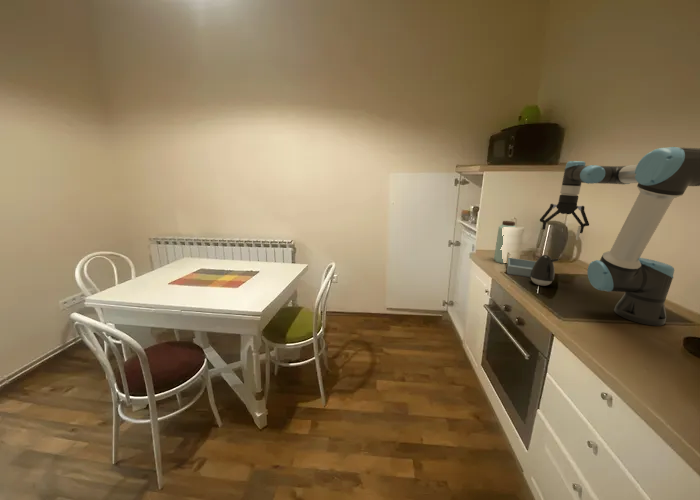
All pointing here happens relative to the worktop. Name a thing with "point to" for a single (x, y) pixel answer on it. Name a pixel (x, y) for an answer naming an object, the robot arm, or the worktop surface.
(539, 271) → the pump dispenser
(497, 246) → the water bottle
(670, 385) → the worktop surface
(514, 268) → the bin
